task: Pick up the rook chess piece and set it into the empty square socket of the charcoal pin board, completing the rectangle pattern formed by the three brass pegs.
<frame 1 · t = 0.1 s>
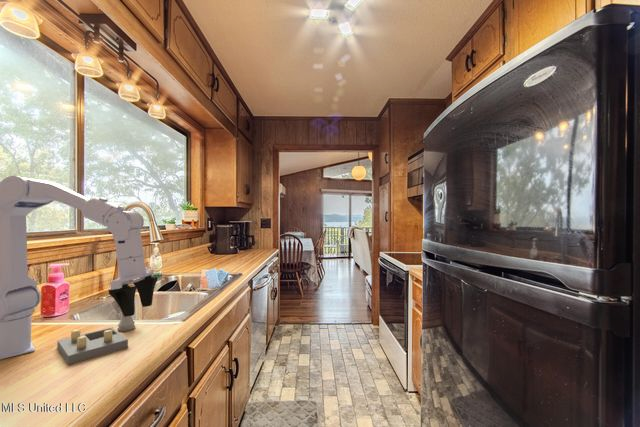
hand: (138, 310, 73), 11 cm above the counter, tool pointing down, fingers open, 7 cm apart
pin board: (92, 347, 76), on the counter
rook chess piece: (126, 329, 88), on the counter
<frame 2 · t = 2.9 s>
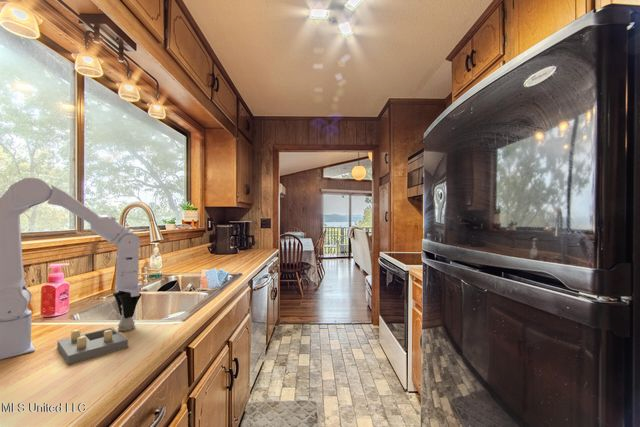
hand: (126, 315, 89), 4 cm above the counter, tool pointing down, fingers closed on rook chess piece, 3 cm apart
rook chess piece: (126, 329, 88), on the counter, touching gripper
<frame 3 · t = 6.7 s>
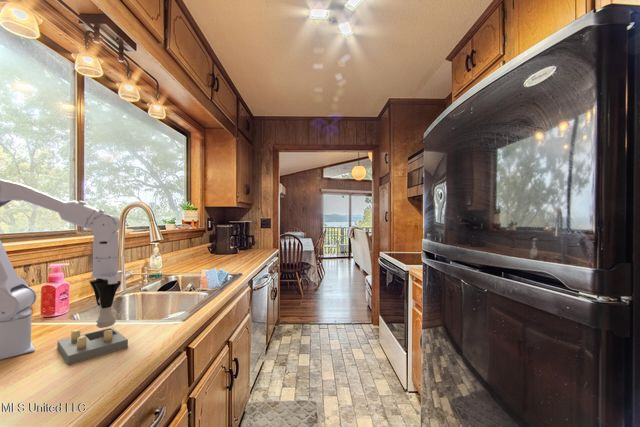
hand: (104, 306, 80), 9 cm above the counter, tool pointing down, fingers closed on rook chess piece, 3 cm apart
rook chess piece: (106, 325, 81), point 4 cm above the counter, touching gripper
when the fingers open (5 cm above the counter, at t = 9.5 s): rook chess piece stays where it is, resting in pin board.
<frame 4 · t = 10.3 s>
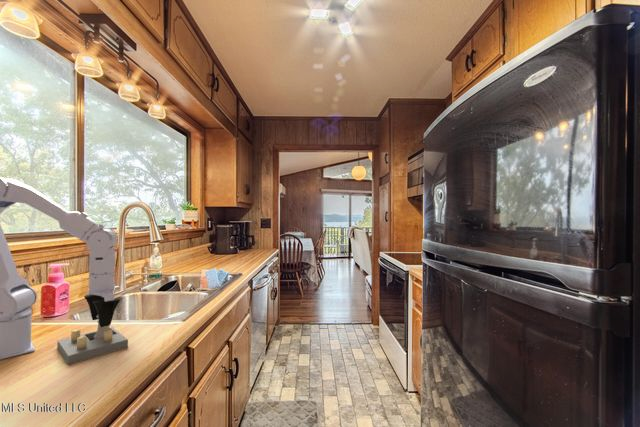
hand: (101, 322, 79), 5 cm above the counter, tool pointing down, fingers open, 7 cm apart
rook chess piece: (103, 341, 80), resting in pin board
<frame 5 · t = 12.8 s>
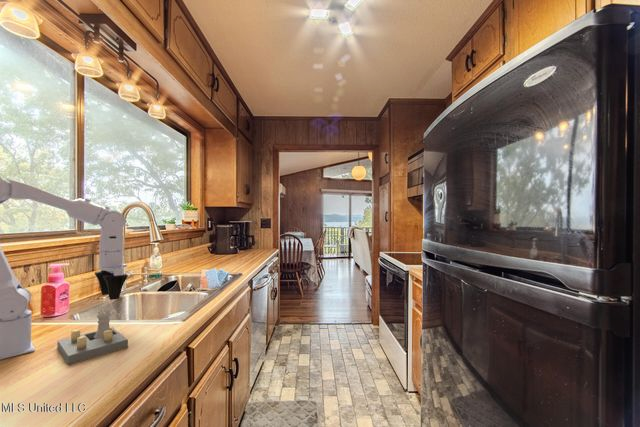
hand: (110, 296, 86), 10 cm above the counter, tool pointing down, fingers open, 7 cm apart
nothing on the counter moved.
at the end: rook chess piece 0.6 cm from the target spot on the pin board, point 0.0 cm above the pin board's base; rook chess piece tilted 0°; the gripper is holding nothing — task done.
